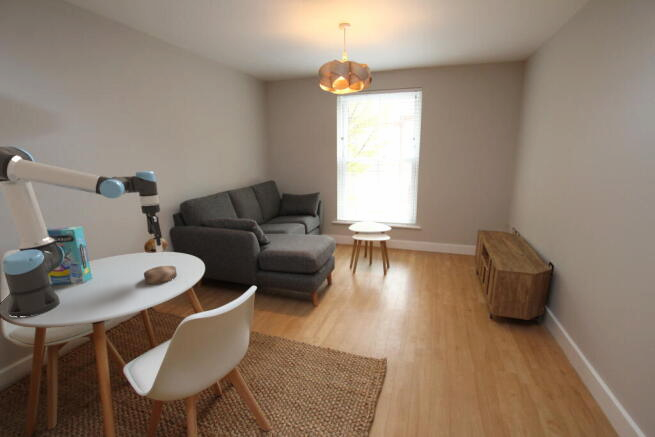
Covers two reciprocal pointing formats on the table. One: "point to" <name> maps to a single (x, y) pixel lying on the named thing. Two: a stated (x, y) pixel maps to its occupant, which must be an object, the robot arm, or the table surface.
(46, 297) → the robot arm
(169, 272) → the walnut stand
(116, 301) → the table surface
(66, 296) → the table surface
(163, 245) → the bread roll
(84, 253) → the game box
